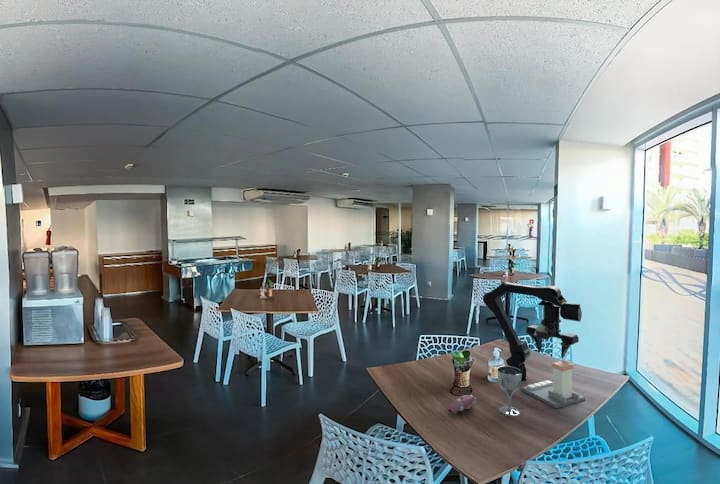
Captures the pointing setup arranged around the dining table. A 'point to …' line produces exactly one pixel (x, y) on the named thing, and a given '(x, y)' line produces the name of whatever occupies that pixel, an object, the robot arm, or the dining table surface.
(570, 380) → the key
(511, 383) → the wine glass
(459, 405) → the pink toy figurine
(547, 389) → the keyboard deck
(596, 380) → the dining table surface
